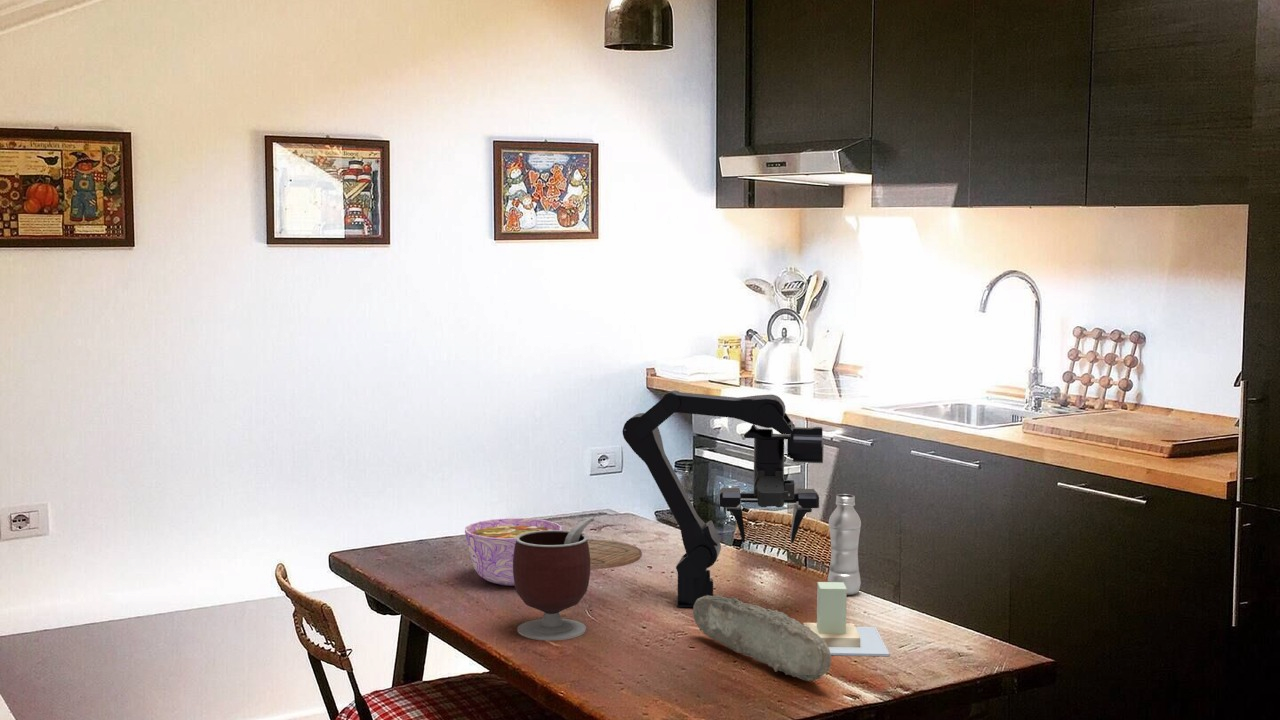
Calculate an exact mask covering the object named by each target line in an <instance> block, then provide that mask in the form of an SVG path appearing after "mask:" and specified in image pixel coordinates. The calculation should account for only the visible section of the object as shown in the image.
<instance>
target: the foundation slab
mask: <svg viewBox="0 0 1280 720" xmlns="http://www.w3.org/2000/svg"><path fill="white" fill-rule="evenodd" d="M802 625H804V626H807V627H809V628H810V630H812V631H813V632H814V633H816V634H817V635H819V636H820V637H821V638H822V639H823V640H824V641H825V642H826V644H827V646H828V647H860V636H859V634H858V632H857V630H856V628H855V627H856V625H855V624H854V623H851V622H849V623H848V622H846V634H819V631H818V629H817V622H803V623H802Z"/></svg>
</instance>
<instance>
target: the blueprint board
mask: <svg viewBox="0 0 1280 720" xmlns="http://www.w3.org/2000/svg"><path fill="white" fill-rule="evenodd" d="M855 628H856V630H857V632H858V634H859V636H860V647H829V650H830V654H831V656H845V657H846V656H849V657H851V656H852V657H853V656H854V657H856V656H857V657H858V656H859V657H890V655H891V654H890V651H889V650H888V647H887V646H886V644H885V643H884V640H883V638H882V637H881V635H880V633H879V631H878V629H877V627H876V626H855Z"/></svg>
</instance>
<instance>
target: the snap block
mask: <svg viewBox="0 0 1280 720" xmlns="http://www.w3.org/2000/svg"><path fill="white" fill-rule="evenodd" d="M816 585H817V589H816V594H817V595H816V597H817V598H816V623H817V629H818V631H819V634H846V623H847V596H848V595H847V589H846V587H845V584H844V582H828V581H817V582H816Z"/></svg>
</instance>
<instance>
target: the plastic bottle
mask: <svg viewBox="0 0 1280 720" xmlns="http://www.w3.org/2000/svg"><path fill="white" fill-rule="evenodd" d="M835 497H836V499H835V505H836V508H835V509H834V510H833V512H831V515H829V519H828V526H829V529H828V530H829V538H830V554H831V555H830V563H829V564H830V565H829V571H828V577H827V582H844V584H845V587H846V589H847V596H852V595H853V596H854V595H857V594H858V593H859V590H860V588H861V582H862V581H861V575H860V568H859V555H858V554H859V550H858V549H859V542H860V541H859V540H860V534H861V527H862V521H861V518H860V516H859V514H858V512H857V511H856V509H855V508H854V506H856V501H855V500H856V496H855V495H853V494H848V493H839V494H836V496H835Z"/></svg>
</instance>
